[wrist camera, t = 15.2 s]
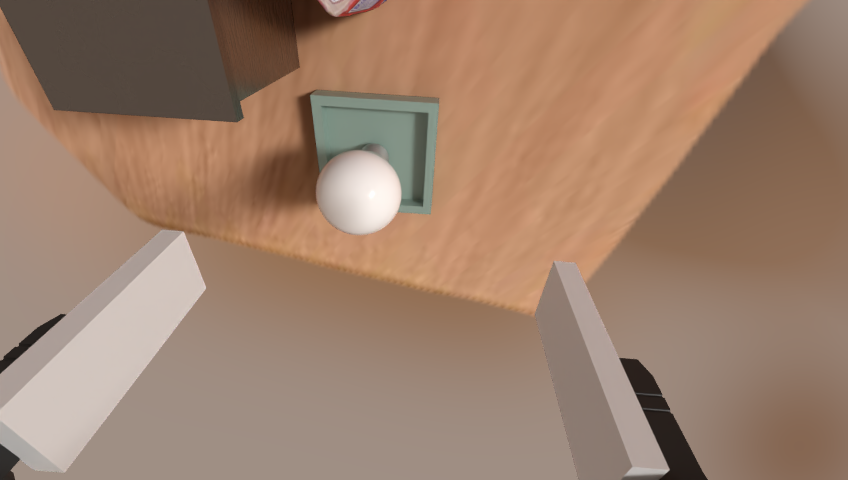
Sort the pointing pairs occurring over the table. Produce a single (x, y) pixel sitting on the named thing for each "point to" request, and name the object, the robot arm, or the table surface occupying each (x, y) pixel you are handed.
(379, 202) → the lightbulb
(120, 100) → the grey lidded bin
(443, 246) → the table surface
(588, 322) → the robot arm
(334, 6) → the box
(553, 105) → the table surface
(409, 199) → the tray
